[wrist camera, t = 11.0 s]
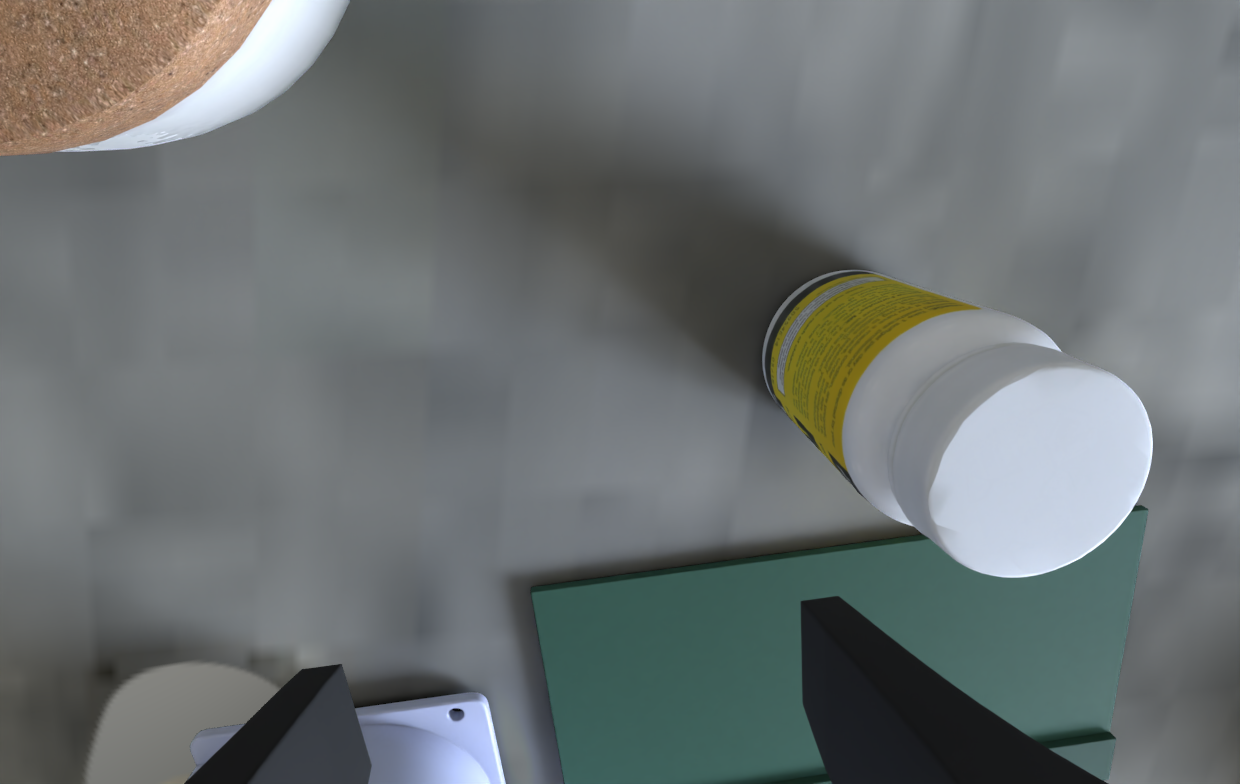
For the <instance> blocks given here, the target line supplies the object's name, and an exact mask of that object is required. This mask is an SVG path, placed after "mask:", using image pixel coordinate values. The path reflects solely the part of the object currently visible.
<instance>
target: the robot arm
mask: <svg viewBox="0 0 1240 784" xmlns="http://www.w3.org/2000/svg"><path fill="white" fill-rule="evenodd" d="M801 653H802V704H803V707H804V710H805V713H806V715H807V718H808V721H809V724H810V727H811V730H812V733H813V736H814V739H815V742H816V744H817V747H818V750H819V753H820V755H821V758H822V761H823V764H824V766H825V769H826V771H827V773H828V776H829V778H830V780H831V782H832V784H1108V783H1106V782H1104V781H1102V780H1101V779H1099V778H1097V777H1096V776H1094V775H1092V774H1091V773H1089V772H1087V771H1085V770H1084V769H1082V768H1080V767H1079V766H1077V765H1075V764H1074V763H1072V762H1070V761H1068V760H1067V759H1065V758H1063V757H1062V756H1060V755H1058V754H1057V753H1055V752H1053V751H1052V750H1050V749H1048V748H1047V747H1045V746H1044V745H1042V744H1040V743H1039V742H1037V741H1036V740H1034V739H1032V738H1031V737H1029V736H1028V735H1026V734H1025V733H1023V732H1022V731H1020V730H1019V729H1017V728H1016V727H1014V726H1013V725H1011V724H1010V723H1008V722H1007V721H1005V720H1004V719H1002V718H1001V717H999V716H998V715H996V714H995V713H993V712H992V711H990V710H989V709H987V708H986V707H984V706H983V705H981V704H980V703H978V702H977V701H976V700H974V699H973V698H971V697H970V696H968V695H967V694H966V693H964V692H963V691H961V690H960V689H959V688H957V687H956V686H954V685H953V684H952V683H950V682H949V681H947V680H946V679H945V678H943V677H942V676H941V675H939V674H938V673H937V672H935V671H934V670H933V669H931V668H930V667H929V666H927V665H926V664H925V663H923V662H922V661H921V660H919V659H918V658H917V657H915V656H914V655H913V654H911V653H910V652H909V651H908V650H906V649H905V648H904V647H902V646H901V645H900V644H899V643H897V642H896V641H895V640H894V639H892V638H891V637H890V636H888V635H887V634H886V633H885V632H883V631H882V630H881V629H880V628H878V627H877V626H876V625H875V624H873V623H872V622H871V621H870V620H868V619H867V618H866V617H865V616H863V615H862V614H861V613H860V612H858V611H857V610H856V609H855V608H853V607H852V606H851V605H849V604H848V603H847V602H846V601H844V600H843V599H842V598H841V597H839V596H833V597H826V598H819V599H812V600H804V601H801ZM453 708H459V709H461V710H462V711H460V712H458V711H454V710H452V709H453ZM190 751H191V753H192V756H193V758H194V761H195V763H196V767H195V769H194V770H193V772H192V774H191V775H190V777H189V778H188V780H187V781H186V782H185V783H184V784H506V783H505V779H504V774H503V769H502V765H501V760H500V755H499V751H498V746H497V741H496V737H495V732H494V727H493V723H492V718H491V713H490V709H489V704H488V701H487V699H486V697H485V696H483V695H482V694H480V693H477V692H468V693H461V694H453V695H446V696H439V697H432V698H425V699H418V700H411V701H403V702H396V703H389V704H382V705H375V706H368V707H361V708H355V707H354V704H353V701H352V697H351V694H350V690H349V687H348V684H347V680H346V677H345V674H344V670H343V667H342V664H339V665H331V666H324V667H317V668H309V669H302V670H301V671H300V672H299V673H298V674H296V675H295V676H294V677H293V678H292V679H291V680H290V681H289V682H288V683H287V684H286V685H284V686H283V687H282V688H281V689H280V690H279V691H278V692H277V693H276V694H275V695H274V696H273V697H272V698H271V699H270V700H269V701H268V702H267V703H266V704H265V705H264V706H263V707H262V708H261V709H260V710H259V711H258V712H257V713H256V714H255V715H254V716H253V717H252V718H251V719H250V720H249V721H248V722H247V723H246V724H239V725H232V726H225V727H218V728H211V729H205V730H202V731H200V732H199V733H198V734H197V735H196V736H195V737H194V739H193V741H192V742H191V744H190Z"/></svg>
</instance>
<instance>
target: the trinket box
mask: <svg viewBox="0 0 1240 784" xmlns="http://www.w3.org/2000/svg"><path fill="white" fill-rule="evenodd" d="M349 2H350V0H0V156H9V155H28V154H44V153H52V152H80V151H101V150H120V149H134V148H140V147H146V146H152V145H158V144H163V143H168V142H172V141H177V140H181V139H185V138H190V137H194V136H199V135H202V134H205V133H207V132H210V131H212V130H214V129H217V128H219V127H222V126H224V125H226V124H229V123H231V122H233V121H236V120H238V119H240V118H243V117H245V116H247V115H250V114H252V113H254V112H256V111H257V110H259V109H260V108H262V107H263V106H265V105H266V104H268V103H269V102H271V101H272V100H274V99H275V98H277V97H278V96H280V95H281V94H283V93H284V92H286V91H287V90H288V89H289V88H290V87H291V86H292V85H293V84H294V83H295V82H296V81H297V80H298V79H299V78H300V77H301V76H302V75H303V74H304V73H305V72H306V71H307V70H308V69H309V68H310V67H311V66H312V65H313V64H314V62H315V61H316V59H317V58H318V57H319V55H320V54H321V52H322V51H323V49H324V48H325V47H326V45H327V44H328V42H329V41H330V39H331V38H332V37H333V35H334V34H335V32H336V30H337V27H338V25H339V23H340V21H341V19H342V17H343V15H344V13H345V10H346V8H347V6H348V4H349Z"/></svg>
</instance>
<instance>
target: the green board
mask: <svg viewBox="0 0 1240 784" xmlns="http://www.w3.org/2000/svg"><path fill="white" fill-rule="evenodd" d="M1147 515H1148V509H1147V508H1145V507H1144V506H1142V505H1139V506H1134V507H1133V509H1132V510H1131V512H1130V513H1129V515H1128V516H1127V517H1126V519H1125V520H1124V521H1123V523H1122V524H1121V525H1120V526H1119V527H1118V528H1117V529H1116V530H1115V531H1114V532H1113V533H1112V534H1111V535H1110V536H1109V537H1108V538H1107V539H1106V540H1105V541H1104V542H1103V543H1101V544H1100V545H1099V546H1098V547H1096V548H1095V549H1094V550H1092V551H1091V552H1089V553H1087V554H1086V555H1085V556H1083V557H1082V558H1080V559H1078V560H1076V561H1074V562H1072V563H1070V564H1068V565H1066V566H1063V567H1061V568H1058V569H1056V570H1053V571H1050V572H1047V573H1044V574H1039V575H1035V576H1028V577H1016V578H1009V577H998V576H992V575H988V574H983V573H980V572H977V571H974V570H972V569H970V568H967V567H965V566H963V565H962V564H960V563H959V562H957V561H955V560H954V559H953V558H952V557H951V556H949V555H948V554H947V553H946V552H945V551H943V550H942V549H941V548H940V547H939V546H938V545H937V544H935V543H934V542H933V541H932V540H931V539H930V538H928V537H927V536H925V535H924V534H923V535H916V536H909V537H901V538H894V539H886V540H879V541H871V542H864V543H856V544H849V545H842V546H834V547H827V548H819V549H812V550H804V551H797V552H790V553H782V554H775V555H767V556H760V557H752V558H745V559H737V560H730V561H723V562H715V563H708V564H700V565H693V566H685V567H678V568H671V569H663V570H656V571H648V572H641V573H633V574H626V575H618V576H611V577H604V578H596V579H589V580H581V581H574V582H566V583H559V584H552V585H544V586H537V587H531V597H532V603H533V609H534V614H535V620H536V626H537V632H538V637H539V643H540V649H541V654H542V660H543V666H544V671H545V677H546V683H547V688H548V694H549V700H550V705H551V711H552V717H553V722H554V728H555V734H556V739H557V745H558V751H559V757H560V762H561V768H562V774H563V779H564V784H832V782H831V780H830V778H829V776H828V773H827V771H826V769H825V766H824V764H823V761H822V758H821V755H820V753H819V750H818V747H817V744H816V742H815V739H814V736H813V733H812V730H811V727H810V724H809V721H808V718H807V715H806V713H805V710H804V707H803V704H802V653H801V601H804V600H812V599H819V598H826V597H833V596H839V597H841V598H842V599H843V600H844V601H846V602H847V603H848V604H849V605H851V606H852V607H853V608H855V609H856V610H857V611H858V612H860V613H861V614H862V615H863V616H865V617H866V618H867V619H868V620H870V621H871V622H872V623H873V624H875V625H876V626H877V627H878V628H880V629H881V630H882V631H883V632H885V633H886V634H887V635H888V636H890V637H891V638H892V639H894V640H895V641H896V642H897V643H899V644H900V645H901V646H902V647H904V648H905V649H906V650H908V651H909V652H910V653H911V654H913V655H914V656H915V657H917V658H918V659H919V660H921V661H922V662H923V663H925V664H926V665H927V666H929V667H930V668H931V669H933V670H934V671H935V672H937V673H938V674H939V675H941V676H942V677H943V678H945V679H946V680H947V681H949V682H950V683H952V684H953V685H954V686H956V687H957V688H959V689H960V690H961V691H963V692H964V693H966V694H967V695H968V696H970V697H971V698H973V699H974V700H976V701H977V702H978V703H980V704H981V705H983V706H984V707H986V708H987V709H989V710H990V711H992V712H993V713H995V714H996V715H998V716H999V717H1001V718H1002V719H1004V720H1005V721H1007V722H1008V723H1010V724H1011V725H1013V726H1014V727H1016V728H1017V729H1019V730H1020V731H1022V732H1023V733H1025V734H1026V735H1028V736H1029V737H1031V738H1032V739H1034V740H1036V741H1037V742H1039V743H1040V744H1042V745H1044V746H1045V747H1047V748H1048V749H1050V750H1052V751H1053V752H1055V753H1057V754H1058V755H1060V756H1062V757H1063V758H1065V759H1067V760H1068V761H1070V762H1072V763H1074V764H1075V765H1077V766H1079V767H1080V768H1082V769H1084V770H1085V771H1087V772H1089V773H1091V774H1092V775H1094V776H1096V777H1097V778H1099V779H1101V780H1108V779H1109V776H1110V770H1111V765H1112V759H1113V753H1114V748H1115V742H1116V738H1115V737H1114V736H1113V735H1112V734H1111V733H1110V727H1111V721H1112V716H1113V710H1114V704H1115V698H1116V693H1117V687H1118V681H1119V676H1120V670H1121V664H1122V658H1123V653H1124V647H1125V641H1126V635H1127V630H1128V624H1129V618H1130V613H1131V607H1132V601H1133V595H1134V590H1135V584H1136V578H1137V572H1138V567H1139V561H1140V555H1141V549H1142V544H1143V538H1144V532H1145V527H1146V521H1147Z"/></svg>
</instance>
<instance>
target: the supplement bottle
mask: <svg viewBox="0 0 1240 784" xmlns="http://www.w3.org/2000/svg"><path fill="white" fill-rule="evenodd" d="M762 365H763V372H764V377H765V381H766V384H767V387H768V389H769V391H770V393H771V395H772V397H773V399H774V400H775V401H776V403H777V404H778V405H779V407H780V408H781V409H782V410H783V411H784V413H785V414H786V415H787V416H788V417H789V418H790V419H791V420H792V421H793V422H794V423H795V424H796V425H797V426H798V427H799V428H800V430H801V431H802V432H803V433H804V434H805V435H806V436H807V437H808V438H809V439H810V440H811V441H812V442H813V443H814V445H815V446H816V447H817V448H818V449H819V450H820V451H821V452H822V453H823V454H824V455H825V456H826V457H827V458H828V460H829V461H830V462H831V463H832V464H833V465H834V466H835V467H836V468H837V469H838V470H839V471H840V473H841V474H842V475H843V476H844V477H845V478H846V479H847V480H848V481H849V482H850V483H851V484H852V485H853V487H854V488H855V489H856V490H857V492H858V493H859V494H860V495H862V496H863V497H864V498H865V499H866V500H867V501H868V502H870V503H871V504H872V505H873V506H874V507H876V508H877V509H878V510H879V511H881V512H882V513H884V514H885V515H887V516H889V517H891V518H893V519H894V520H897V521H899V522H902V523H905V524H907V525H910V526H914V527H915V528H916V529H917V530H918V531H920V532H921V533H922V534H924V535H925V536H927V537H928V538H930V539H931V540H932V541H933V542H934V543H935V544H937V545H938V546H939V547H940V548H941V549H942V550H943V551H945V552H946V553H947V554H948V555H949V556H951V557H952V558H953V559H954V560H955V561H957V562H959V563H960V564H962V565H963V566H965V567H967V568H970V569H972V570H974V571H977V572H980V573H983V574H988V575H992V576H998V577H1009V578H1016V577H1028V576H1035V575H1039V574H1044V573H1047V572H1050V571H1053V570H1056V569H1058V568H1061V567H1063V566H1066V565H1068V564H1070V563H1072V562H1074V561H1076V560H1078V559H1080V558H1082V557H1083V556H1085V555H1086V554H1087V553H1089V552H1091V551H1092V550H1094V549H1095V548H1096V547H1098V546H1099V545H1100V544H1101V543H1103V542H1104V541H1105V540H1106V539H1107V538H1108V537H1109V536H1110V535H1111V534H1112V533H1113V532H1114V531H1115V530H1116V529H1117V528H1118V527H1119V526H1120V525H1121V524H1122V523H1123V521H1124V520H1125V519H1126V517H1127V516H1128V515H1129V513H1130V512H1131V510H1132V509H1133V507H1134V505H1135V504H1136V502H1137V500H1138V498H1139V496H1140V494H1141V492H1142V490H1143V488H1144V485H1145V482H1146V479H1147V476H1148V473H1149V469H1150V465H1151V459H1152V451H1153V439H1152V429H1151V425H1150V422H1149V419H1148V415H1147V412H1146V410H1145V408H1144V406H1143V404H1142V402H1141V401H1140V399H1139V398H1138V396H1137V395H1136V394H1135V393H1134V391H1133V390H1132V389H1131V388H1130V387H1129V386H1128V385H1127V384H1125V383H1124V382H1123V381H1122V380H1120V379H1119V378H1118V377H1116V376H1115V375H1113V374H1112V373H1110V372H1108V371H1106V370H1104V369H1102V368H1100V367H1097V366H1095V365H1092V364H1089V363H1087V362H1084V361H1082V360H1080V359H1077V358H1075V357H1072V356H1070V355H1068V354H1066V353H1064V352H1061V350H1060V349H1059V348H1058V346H1057V345H1056V344H1055V343H1054V342H1053V340H1052V339H1051V338H1050V337H1049V336H1047V335H1046V334H1045V333H1044V332H1042V331H1041V330H1040V329H1038V328H1036V327H1035V326H1033V325H1032V324H1030V323H1029V322H1026V321H1024V320H1022V319H1020V318H1018V317H1016V316H1013V315H1010V314H1008V313H1005V312H1001V311H998V310H995V309H992V308H988V307H985V306H982V305H978V304H975V303H972V302H968V301H965V300H961V299H958V298H955V297H951V296H948V295H945V294H942V293H939V292H935V291H932V290H929V289H926V288H923V287H920V286H917V285H913V284H910V283H907V282H904V281H901V280H898V279H896V278H893V277H888V276H886V275H883V274H880V273H876V272H871V271H865V270H842V271H836V272H831V273H828V274H825V275H822V276H819V277H817V278H815V279H813V280H811V281H809V282H807V283H806V284H804V285H803V286H801V287H800V288H799V289H797V290H796V291H795V292H794V293H792V294H791V295H790V296H789V297H788V298H787V299H786V300H785V302H784V303H783V304H782V305H781V307H780V308H779V309H778V311H777V312H776V314H775V316H774V317H773V319H772V321H771V323H770V326H769V328H768V331H767V334H766V337H765V341H764V346H763V354H762Z"/></svg>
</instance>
